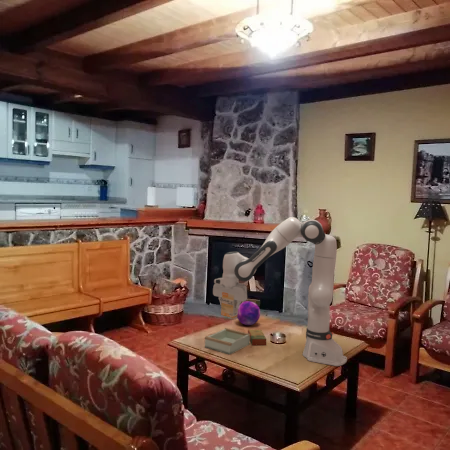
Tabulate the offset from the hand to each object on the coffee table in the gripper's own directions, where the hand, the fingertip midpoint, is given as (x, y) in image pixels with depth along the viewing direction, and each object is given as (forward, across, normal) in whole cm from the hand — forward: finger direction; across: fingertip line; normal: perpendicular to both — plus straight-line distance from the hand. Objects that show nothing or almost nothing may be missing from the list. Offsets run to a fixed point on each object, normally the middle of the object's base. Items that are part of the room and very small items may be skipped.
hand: (229, 306), depth 239 cm
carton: (+22, -8, -18) cm, 30 cm away
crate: (+22, 0, 0) cm, 22 cm away
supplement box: (+5, 0, 0) cm, 5 cm away
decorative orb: (+22, +11, -40) cm, 47 cm away
